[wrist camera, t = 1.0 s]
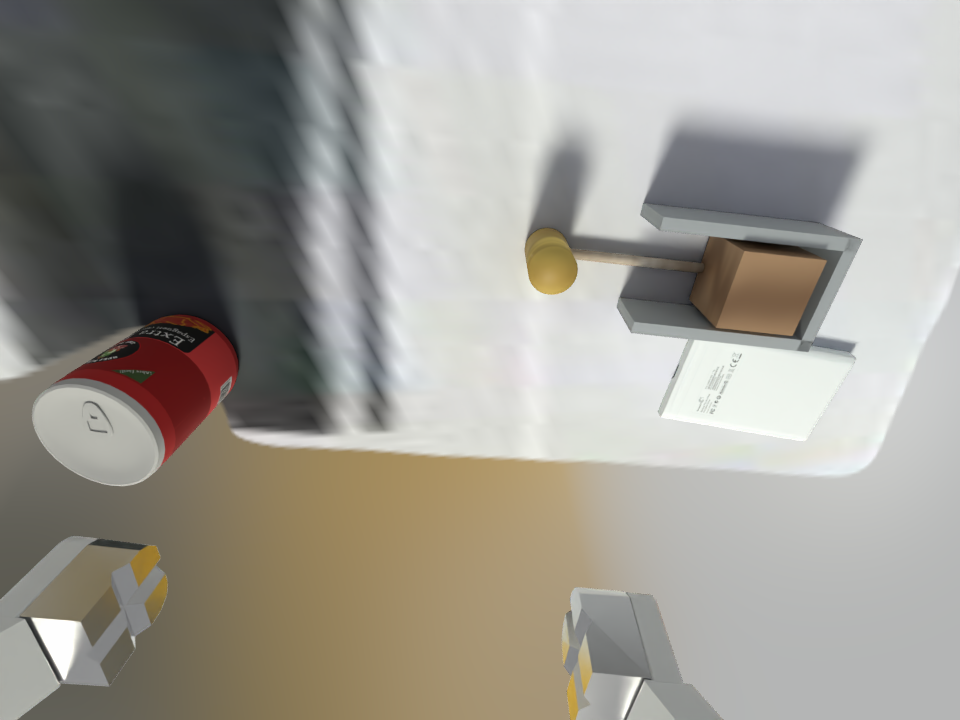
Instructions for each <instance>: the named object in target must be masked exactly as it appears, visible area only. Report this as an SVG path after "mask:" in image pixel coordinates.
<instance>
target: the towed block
mask: <svg viewBox="0 0 960 720" xmlns="http://www.w3.org/2000/svg"><path fill="white" fill-rule="evenodd" d="M525 256H526V263H527V269H528V275H529V279H530V282H531V284H532V285H533V286H534V287H535V288H536V289H537V290H538V291H540V292H542V293H545V294H559V293H561V292H564V291H565V290H567V289H568V288H569V287H570V286H571V285H572V284H573V283H574V281H575V279H576V276H577V271H578V268H577V263H576V260H575V259H577V260H586V261H595V262H604V263H613V264H622V265H631V266H640V267H649V268H658V269H667V270H676V271H685V272H694V273H698V274H697V277H696V280H695V283H694V286H693V289H692V292H691V295H690V298H689V300H690V301H691V302H692V303H693V304H694V305H695V306H696V307H697V308H698V309H699V311H700V312H701V313H702V314H703V315H704V316H705V317H706V318H707V319H708V320H709V321H710V322H711V323H712V324H713V325H714V326H715V327H716V328H723V329H733V330H742V331H751V332H760V333H769V334H778V335H787V336H793V334H794V332H795V330H796V327H797V325H798V323H799V321H800V319H801V317H802V314H803V312H804V310H805V308H806V306H807V303H808V301H809V299H810V297H811V295H812V293H813V290H814V288H815V286H816V284H817V282H818V279H819V277H820V275H821V273H822V271H823V269H824V266H825V264H826V262H827V260H825V259H823V258H821V257H819V256H817V255H815V254H813V253H811V252H809V251H806V250H804V249H802V248H800V247H798V246H792V245H783V244H774V243H766V242H757V241H748V240H739V239H730V238H721V237H712V236H710V237H709V240H708V243H707V246H706V249H705V252H704V255H703V258H702V261H701V263H696V262H687V261H678V260H669V259H661V258H652V257H643V256H634V255H625V254H616V253H607V252H598V251H589V250H580V249H571V248H569V245H568V243H567V241H566V239H565V237H564V236H563V235H562V234H561V233H560V232H559V231H557V230H555V229H552V228H543V229H539V230H537V231H535V232H534V233H533V234H531V236H530V237H529V238H528V240H527V242H526V245H525Z"/></svg>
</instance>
